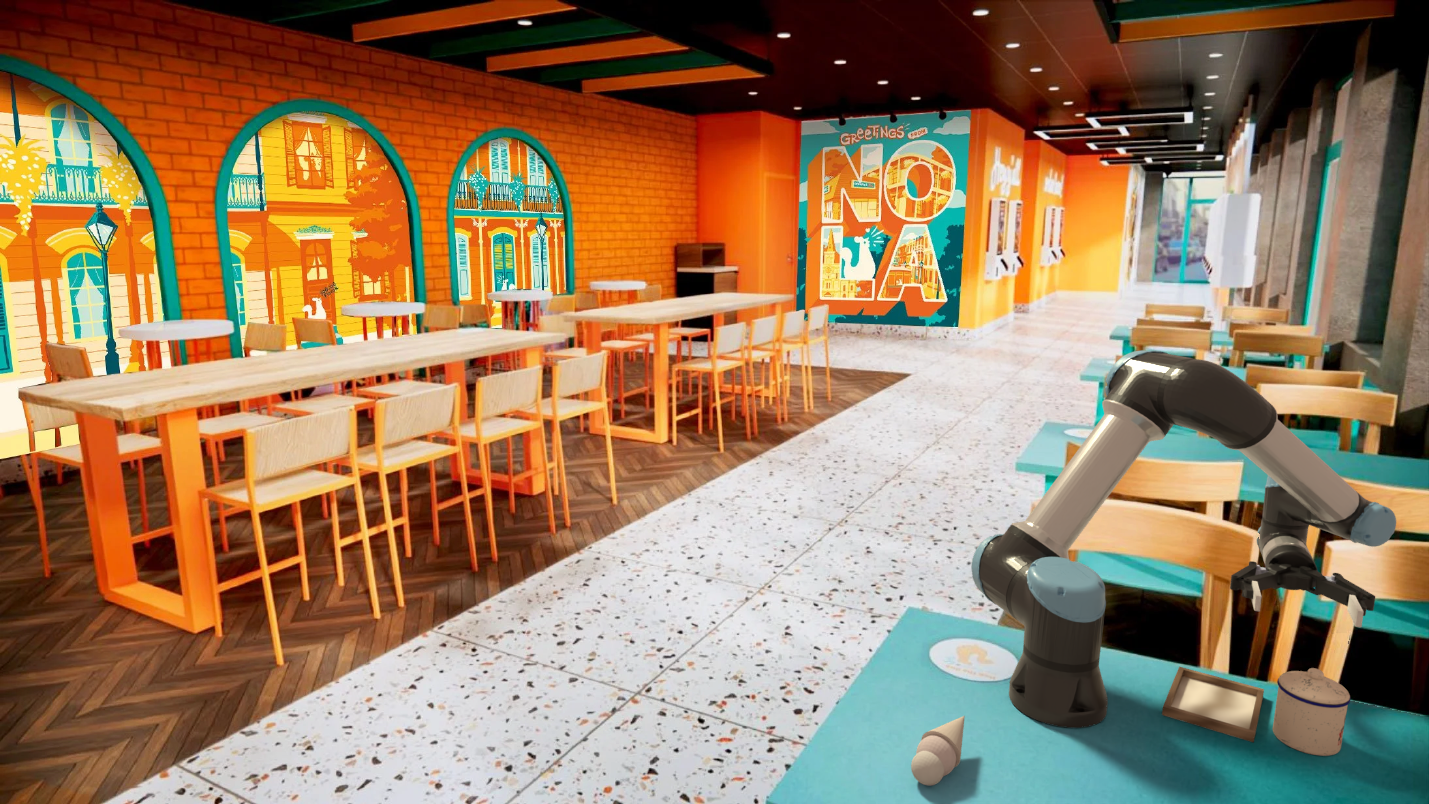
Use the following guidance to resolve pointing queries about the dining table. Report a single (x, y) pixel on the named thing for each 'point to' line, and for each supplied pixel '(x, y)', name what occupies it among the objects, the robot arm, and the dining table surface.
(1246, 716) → the walnut tray
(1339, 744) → the teacup with lid
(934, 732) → the ice cream cone
